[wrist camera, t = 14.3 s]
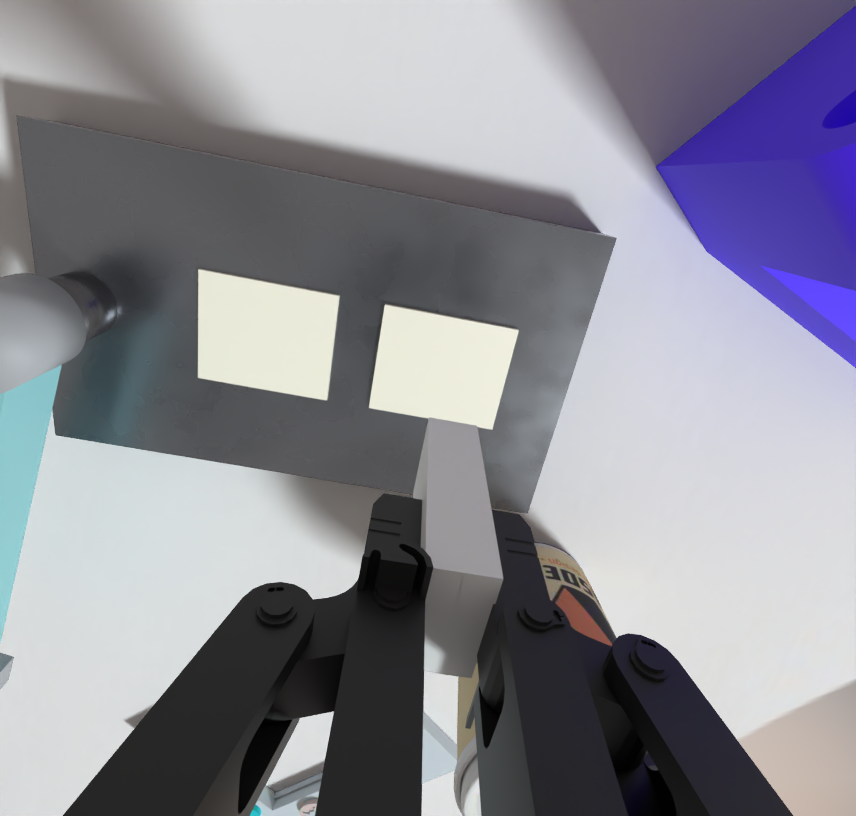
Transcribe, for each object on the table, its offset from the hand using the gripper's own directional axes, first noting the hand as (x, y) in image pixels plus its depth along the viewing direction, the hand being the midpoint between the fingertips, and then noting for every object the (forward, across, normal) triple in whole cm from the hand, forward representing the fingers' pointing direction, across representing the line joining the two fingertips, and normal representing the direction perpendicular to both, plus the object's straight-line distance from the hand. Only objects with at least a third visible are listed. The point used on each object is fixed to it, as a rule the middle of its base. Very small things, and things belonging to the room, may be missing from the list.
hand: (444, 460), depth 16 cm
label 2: (+8, 0, 0) cm, 8 cm away
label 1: (+8, -8, 0) cm, 12 cm away
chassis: (+10, -6, 0) cm, 12 cm away
